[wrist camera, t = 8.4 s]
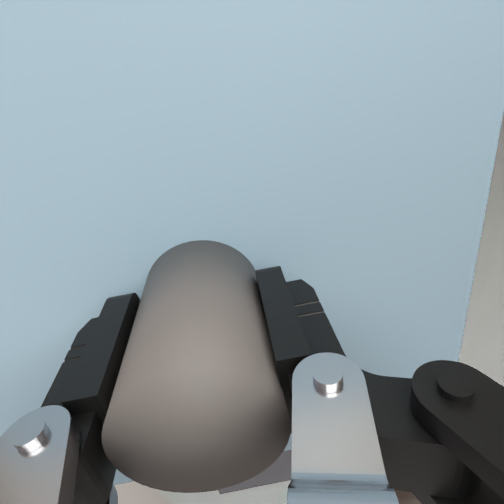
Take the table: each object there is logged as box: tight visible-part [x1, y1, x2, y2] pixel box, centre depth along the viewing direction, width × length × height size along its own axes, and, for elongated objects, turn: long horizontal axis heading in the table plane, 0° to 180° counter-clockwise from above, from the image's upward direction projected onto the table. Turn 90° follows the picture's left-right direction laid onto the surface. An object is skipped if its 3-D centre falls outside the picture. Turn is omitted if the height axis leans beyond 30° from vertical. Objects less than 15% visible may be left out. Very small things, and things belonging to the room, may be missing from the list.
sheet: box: [0, 0, 504, 493], centre depth 9 cm, size 18×18×6 cm
